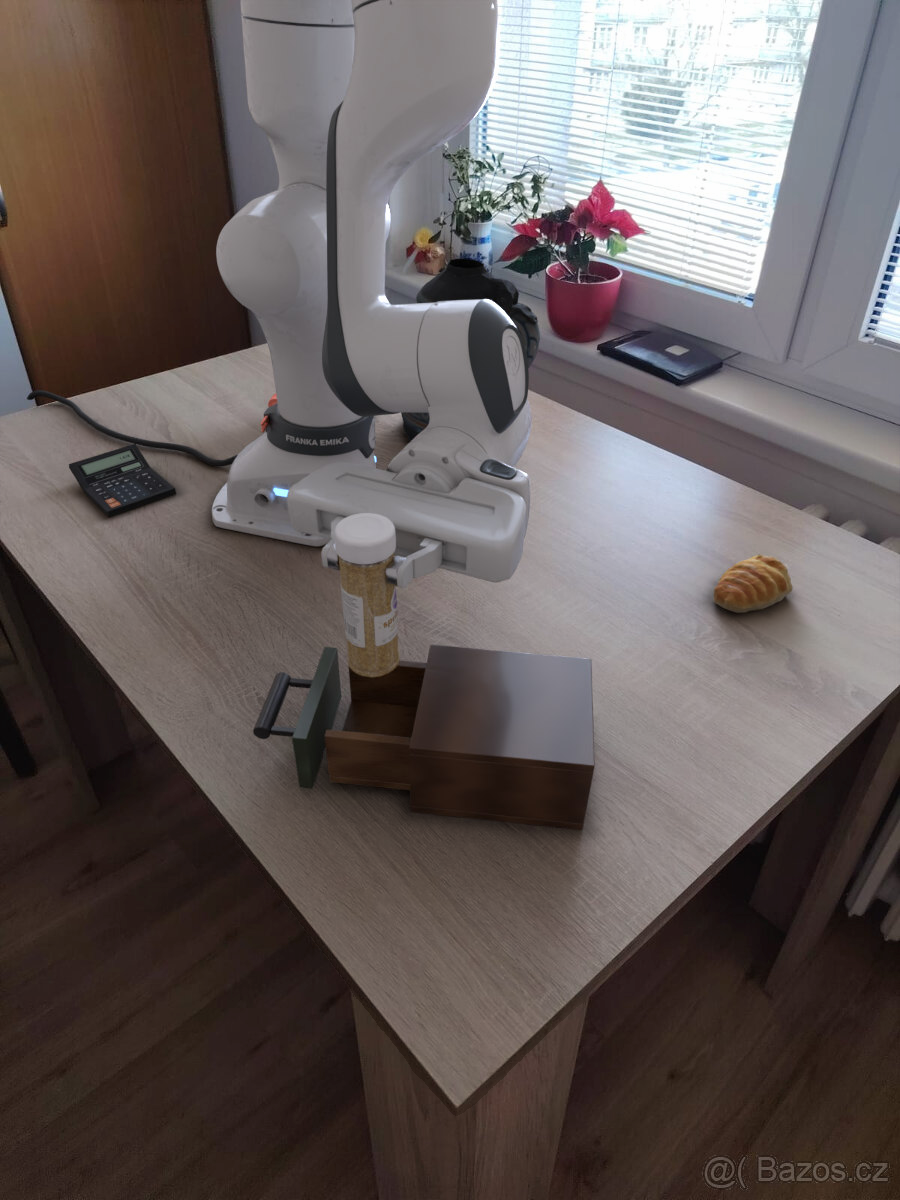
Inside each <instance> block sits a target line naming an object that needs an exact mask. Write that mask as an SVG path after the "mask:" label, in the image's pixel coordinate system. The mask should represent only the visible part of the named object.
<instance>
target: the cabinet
mask: <svg viewBox="0 0 900 1200" xmlns="http://www.w3.org/2000/svg"><path fill="white" fill-rule="evenodd" d="M426 663H427V664H426V669H425V674H424V679H423V684H422V688H421V693H420V698H419V703H418V708H417V713H416V718H415V723H414V728H413V732H412V737H411V742H410V747H409V753H410V790H409V797H410V798H409V799H410V800H409V801H410V804H409V805H410V812H411V813H416V814H417V813H418V814H427V815H436V816H437V815H438V816H444V817H445V816H447V817H454V818H456V817H457V818H466V819H475V820H484V821H494V822H503V823H511V824H521V825H532V826H533V825H534V826H540V827H541V826H542V827H550V828H551V827H552V828H559V829H560V828H561V829H569V830H570V829H571V830H577V831H578V830H579V831H583V830H584V825H585V821H586V814H587V808H588V805H589V799H590V793H591V788H592V783H593V776H594V773H595V772H594V771H595V765H596V763H595V731H594V727H595V726H594V699H593V698H594V697H593V666H592V665H593V663H592V658H586V657H577V656H576V657H574V656H562V655H552V654H540V653H529V652H518V651H508V650H507V651H506V650H496V649H487V648H486V649H485V648H474V647H473V648H472V647H463V646H451V645H450V646H449V645H439V644H430V645H429V650H428V654H427V659H426Z"/></svg>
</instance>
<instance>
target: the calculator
mask: <svg viewBox="0 0 900 1200" xmlns="http://www.w3.org/2000/svg"><path fill="white" fill-rule="evenodd" d="M68 468H69V470H70V472H71V473H72V475H73V476H74V478H75V480H76V481H77V484H79V486H80V488H81V489H82V491H83V492H84V495H85V496H86V497H88V498H89V500H91V502H92V503H94V505H95V506H97V507H98V509H100V510H101V511H102V513H104V514H105V515H106V516H107V517H108V518H111V517H114V516H117V515H119V514H122V513H125V512H128V511H131V510H134V509H137V508H139V507H142V506H145V505H149V504H151V503H154V502H157V501H160V500H163V499H165V498H168V497H171V496H174V495H176V494H177V490H176V487H174V486H173V485H172V484H171V483H170V482H168V481H167V480H166V479H165V478H164V477H163V476H161V475H160V474H159V473H158V472H157V471H156V470H155V469H153V468H152V467H151V465H150V464H149V463H148V461H147V459H146V458H145V456H144V455H143V453H142V452H141V451H140V449H139V447H138V445H137V444H134V443H131V444H129V445H126V446H123V447H120V448H116V449H113V450H109V451H107V452H103V453H100V454H97V455H94V456H90V457H87V458H84V459H81V460H77V461H75V462H71V463H68Z"/></svg>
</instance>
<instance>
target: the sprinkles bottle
mask: <svg viewBox="0 0 900 1200" xmlns="http://www.w3.org/2000/svg"><path fill="white" fill-rule="evenodd" d="M334 534H335V548H336V552H337V555H338V556H339V565H340V571H339V573H340V574H339V575H340V581H339V584H340V593H341V594H340V595H341V606H342V614H343V626H344V633H345V637H346V644H347V654H346V656H347V657H346V661H347V665H349V666H348V668H349V667H350V668H351V669H352V670H353V671H354V672H355V673H357V674H359V675H361V676H366V677H377V676H382V675H385V674H388V673H390V672H391V671H393V670H394V669H395V668H396V667H397V665H398V664H399V661H400V660H401V652H400V649H399V633H398V631H399V622H398V621H399V619H398V618H399V617H398V599H397V598H398V597H397V586H393V585H390V584H387V583H386V578H387V576H386V567H387V565H388V564H389V563H390V562H392V559H393V558H394V557H395V556H394V551H395V548H396V535H395V527H394V525H393V523H392V522H391V521H390V520H389V519H388V518H386V517H384V516H382V515H379V514H373V513H360V514H355V515H351V516H348V517H346V518H344V519H343V520H341V521H340V522H339V523H338V524H337V526H336V528H335V532H334Z"/></svg>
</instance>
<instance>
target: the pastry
mask: <svg viewBox="0 0 900 1200" xmlns="http://www.w3.org/2000/svg"><path fill="white" fill-rule="evenodd" d="M788 571H789V570H788V568H787V566H786V565H785V564H784V563H783V562H781V560H779V559H777V558H776V557H774V556H770V555H767V556H766V555H763V554H757V555H753V556H751V557H750V558H747V559H744V560H741V561H738V562H737V563H735V564H733V566H731V567H730V568H727V570H726V571H725V572H724V573H723V574H722V575H721V577H720V578H719V580H718V583H717V585H716V586H715V587H714V589H713V602H714V604H716V605H718V606H720V607H721V608H723V609H725V610H728V611H730V612H733V613H739V614H741V613H742V614H743V613H745V614H746V613H748V612H752V611H761V610H765V608H769V607H770V606H773V605H775V604H776V603H779V602H781V601H783V600H784V598H785V597H787V596H788V595H789V594H790V593H792V591H793V588H794V587H793V584H792V582H791V581H792V580H791V579H792V578H791V576H790V575H789V572H788Z"/></svg>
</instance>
